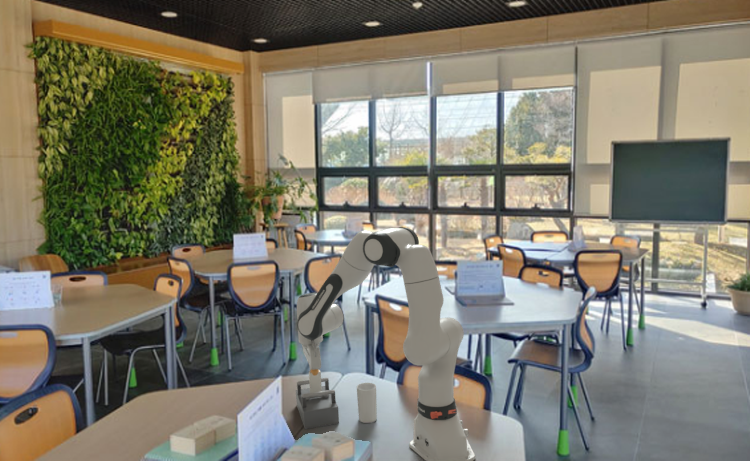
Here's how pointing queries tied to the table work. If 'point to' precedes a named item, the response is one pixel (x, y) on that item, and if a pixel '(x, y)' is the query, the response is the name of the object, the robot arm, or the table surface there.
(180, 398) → the table surface
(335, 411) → the grey lever base
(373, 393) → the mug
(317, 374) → the lever
